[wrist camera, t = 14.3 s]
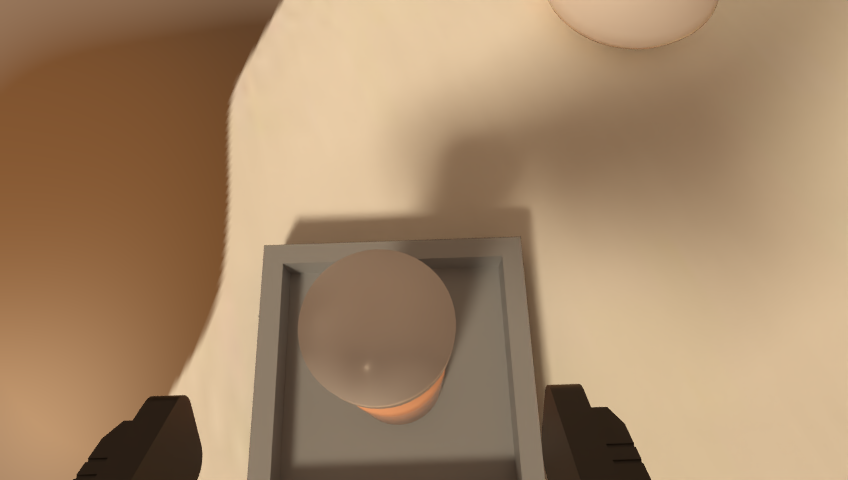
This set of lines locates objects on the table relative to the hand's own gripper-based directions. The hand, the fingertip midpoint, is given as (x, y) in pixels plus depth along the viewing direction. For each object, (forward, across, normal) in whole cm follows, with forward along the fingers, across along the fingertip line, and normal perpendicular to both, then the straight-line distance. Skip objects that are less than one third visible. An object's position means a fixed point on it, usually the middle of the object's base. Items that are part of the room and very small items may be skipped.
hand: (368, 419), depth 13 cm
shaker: (+13, 0, +9) cm, 15 cm away
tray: (+13, 0, +9) cm, 16 cm away
